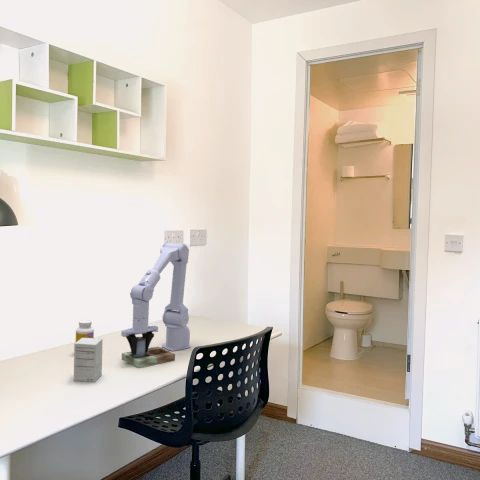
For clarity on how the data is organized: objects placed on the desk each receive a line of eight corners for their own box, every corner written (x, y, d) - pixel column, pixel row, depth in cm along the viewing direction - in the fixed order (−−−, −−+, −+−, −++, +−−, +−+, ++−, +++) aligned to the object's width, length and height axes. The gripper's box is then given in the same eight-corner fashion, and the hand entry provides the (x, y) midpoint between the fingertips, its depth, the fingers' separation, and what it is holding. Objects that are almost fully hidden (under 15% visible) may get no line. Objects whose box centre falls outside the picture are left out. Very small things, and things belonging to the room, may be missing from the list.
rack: (157, 352, 191) (157, 346, 190) (174, 360, 182) (175, 353, 182) (121, 359, 180) (121, 353, 180) (138, 368, 171) (138, 361, 171)
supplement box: (80, 373, 163) (81, 337, 162) (102, 374, 163) (103, 338, 162) (72, 381, 156) (73, 343, 155) (95, 382, 155) (96, 344, 155)
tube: (141, 356, 181) (142, 336, 181) (147, 359, 178) (148, 338, 178) (130, 358, 178) (131, 337, 178) (136, 361, 175) (137, 340, 174)
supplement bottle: (87, 357, 180) (88, 324, 180) (71, 355, 182) (72, 322, 181) (96, 352, 187) (97, 320, 186) (80, 350, 188) (81, 318, 188)
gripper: (151, 313, 185) (150, 347, 186) (117, 317, 175) (116, 353, 176) (161, 316, 180) (160, 351, 181) (127, 321, 170) (126, 358, 171)
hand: (139, 352), depth 178 cm, fingers closed on tube, 4 cm apart
